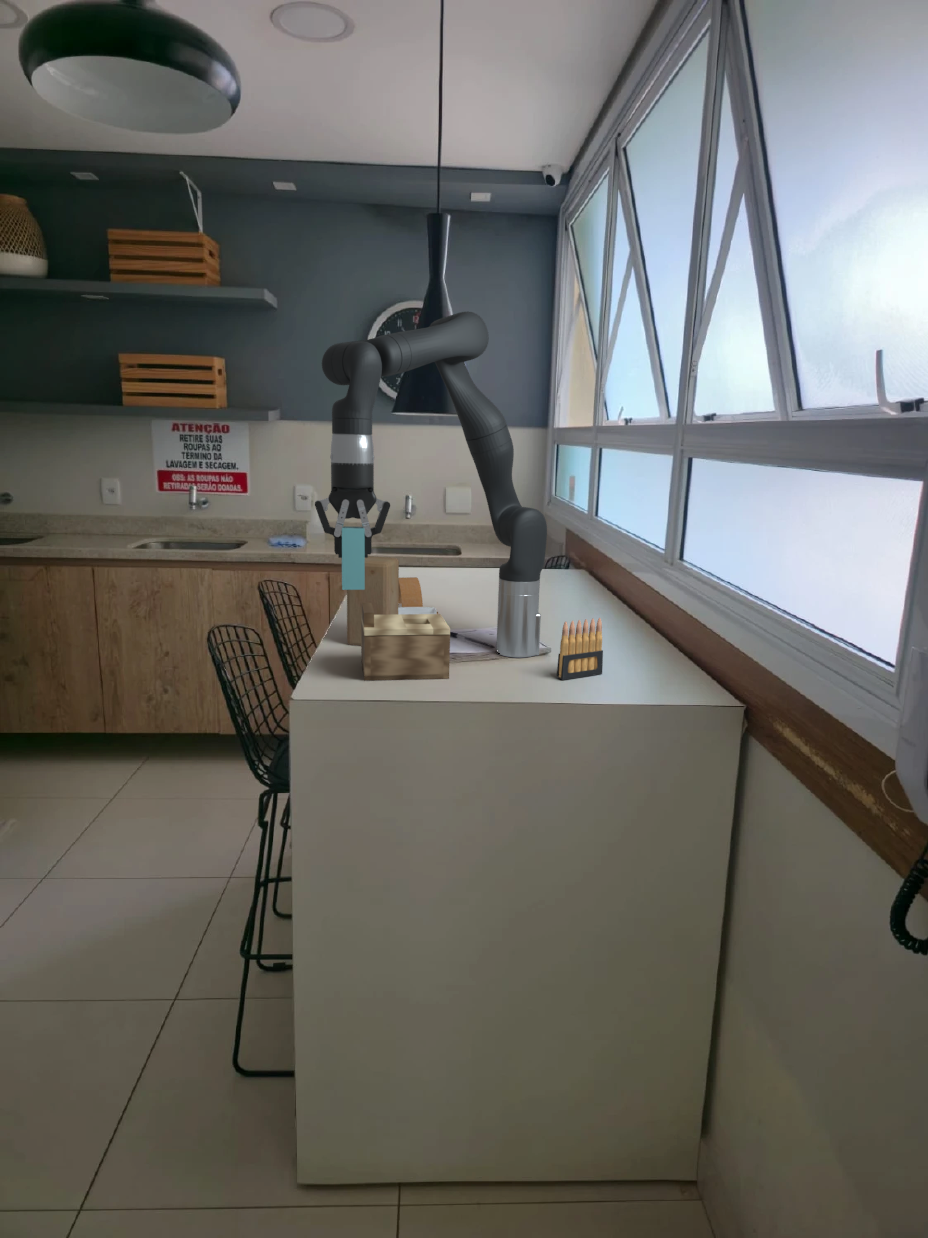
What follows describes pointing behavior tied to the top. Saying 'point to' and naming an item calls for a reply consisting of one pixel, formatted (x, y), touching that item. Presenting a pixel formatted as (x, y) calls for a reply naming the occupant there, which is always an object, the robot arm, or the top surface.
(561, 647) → the ammunition clip
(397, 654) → the wooden box
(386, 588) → the wooden block
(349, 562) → the teal block
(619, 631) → the top surface
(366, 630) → the lid
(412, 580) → the arch
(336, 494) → the robot arm
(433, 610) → the soap dish
